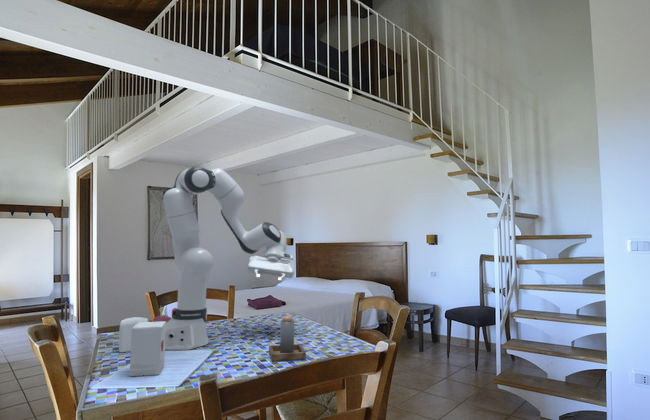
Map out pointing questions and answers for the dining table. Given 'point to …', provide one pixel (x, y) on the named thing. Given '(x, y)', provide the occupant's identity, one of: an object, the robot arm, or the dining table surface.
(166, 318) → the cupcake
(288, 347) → the canister
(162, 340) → the supplement box
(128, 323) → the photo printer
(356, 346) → the dining table surface
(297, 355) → the tray
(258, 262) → the robot arm
